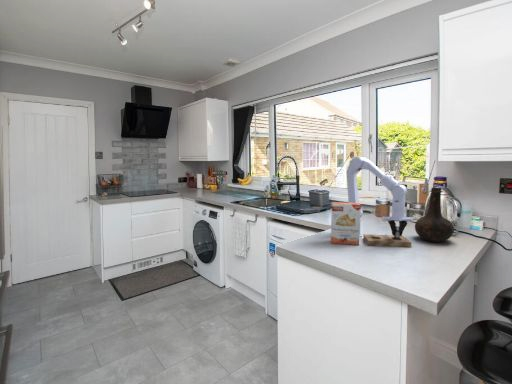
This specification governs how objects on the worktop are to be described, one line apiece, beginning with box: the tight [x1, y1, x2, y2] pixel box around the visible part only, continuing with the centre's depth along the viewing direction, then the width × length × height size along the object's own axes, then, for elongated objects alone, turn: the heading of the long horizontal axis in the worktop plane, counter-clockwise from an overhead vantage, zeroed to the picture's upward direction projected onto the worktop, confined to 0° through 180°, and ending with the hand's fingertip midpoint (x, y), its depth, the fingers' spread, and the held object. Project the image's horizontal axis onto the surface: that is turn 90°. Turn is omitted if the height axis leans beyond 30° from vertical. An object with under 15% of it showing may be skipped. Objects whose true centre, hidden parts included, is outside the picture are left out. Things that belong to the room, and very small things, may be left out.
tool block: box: [362, 233, 412, 248], centre depth 149 cm, size 20×12×2 cm, turn 81°
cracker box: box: [330, 201, 362, 246], centre depth 148 cm, size 14×6×21 cm, turn 76°
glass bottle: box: [414, 186, 455, 243], centre depth 152 cm, size 18×18×28 cm
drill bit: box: [394, 225, 400, 240], centre depth 148 cm, size 3×3×8 cm
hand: (396, 235), depth 148 cm, fingers closed on drill bit, 3 cm apart
